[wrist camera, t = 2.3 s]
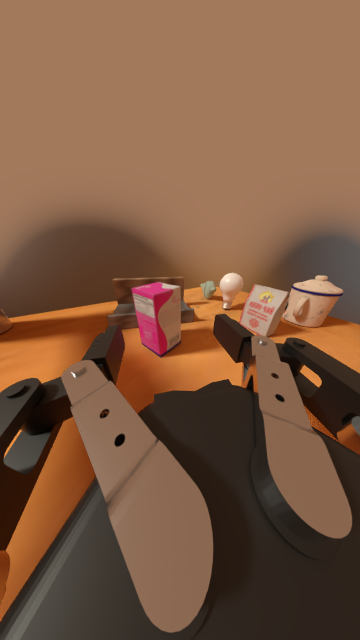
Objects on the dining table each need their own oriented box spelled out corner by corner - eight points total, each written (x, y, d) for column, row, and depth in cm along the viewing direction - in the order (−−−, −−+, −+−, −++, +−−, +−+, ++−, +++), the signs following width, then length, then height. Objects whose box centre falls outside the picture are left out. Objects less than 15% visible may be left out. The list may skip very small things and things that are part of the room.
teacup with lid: (287, 310, 41) (304, 271, 35) (326, 322, 34) (355, 277, 29) (268, 319, 35) (286, 275, 29) (311, 336, 29) (344, 283, 23)
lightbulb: (240, 309, 41) (250, 273, 35) (229, 315, 37) (238, 275, 32) (223, 303, 45) (229, 270, 40) (211, 308, 42) (217, 272, 36)
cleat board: (110, 330, 30) (99, 292, 25) (120, 307, 41) (114, 278, 36) (193, 321, 34) (195, 287, 29) (181, 303, 45) (182, 276, 40)
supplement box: (161, 331, 29) (158, 280, 24) (181, 342, 26) (183, 286, 21) (140, 344, 26) (130, 286, 20) (160, 358, 22) (154, 294, 17)
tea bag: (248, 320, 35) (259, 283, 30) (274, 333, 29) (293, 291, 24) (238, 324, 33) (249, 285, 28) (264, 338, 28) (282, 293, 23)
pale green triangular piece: (197, 296, 52) (199, 279, 48) (205, 295, 53) (207, 278, 50) (210, 303, 45) (212, 283, 42) (218, 301, 47) (222, 282, 44)
